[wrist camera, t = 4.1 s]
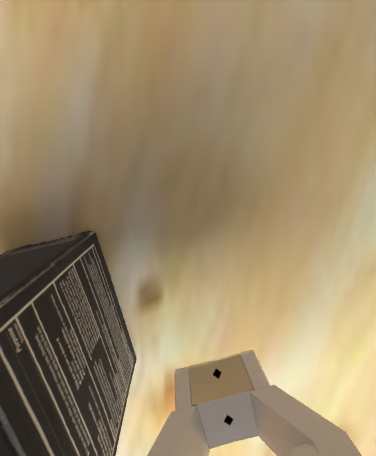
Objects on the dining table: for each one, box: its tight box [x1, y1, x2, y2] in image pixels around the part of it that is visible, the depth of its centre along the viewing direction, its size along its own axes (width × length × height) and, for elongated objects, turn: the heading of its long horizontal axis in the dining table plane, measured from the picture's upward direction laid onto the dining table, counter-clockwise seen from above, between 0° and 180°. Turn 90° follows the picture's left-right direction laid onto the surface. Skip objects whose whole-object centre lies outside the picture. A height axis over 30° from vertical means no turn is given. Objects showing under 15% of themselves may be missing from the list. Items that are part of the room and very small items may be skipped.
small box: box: [0, 231, 136, 456], centre depth 12 cm, size 11×6×10 cm, turn 13°
